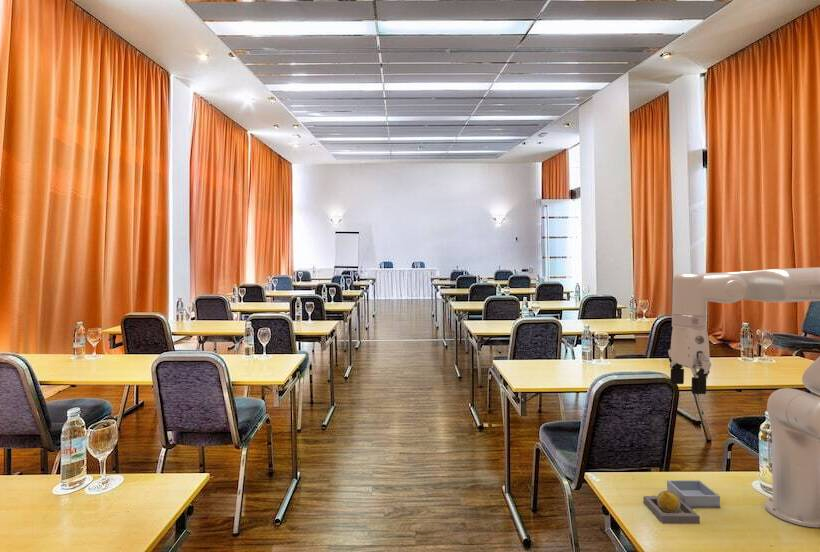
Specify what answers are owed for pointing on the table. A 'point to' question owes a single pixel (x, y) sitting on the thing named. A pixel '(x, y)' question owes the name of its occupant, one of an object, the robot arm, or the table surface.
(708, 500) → the parts tray
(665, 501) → the grooved yellow cone
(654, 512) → the holder panel
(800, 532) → the table surface
